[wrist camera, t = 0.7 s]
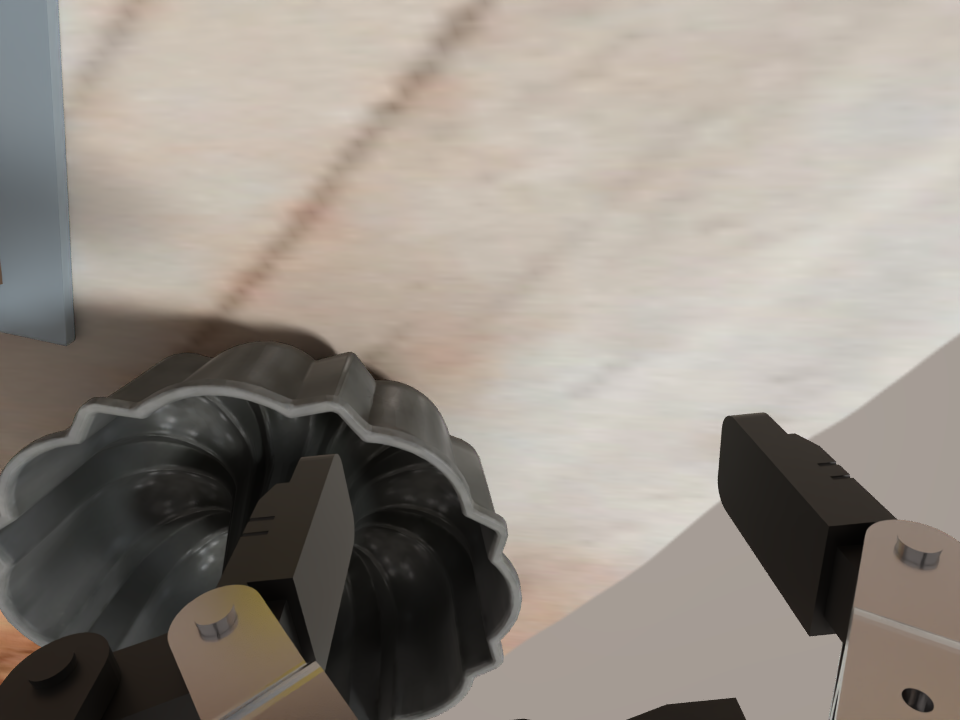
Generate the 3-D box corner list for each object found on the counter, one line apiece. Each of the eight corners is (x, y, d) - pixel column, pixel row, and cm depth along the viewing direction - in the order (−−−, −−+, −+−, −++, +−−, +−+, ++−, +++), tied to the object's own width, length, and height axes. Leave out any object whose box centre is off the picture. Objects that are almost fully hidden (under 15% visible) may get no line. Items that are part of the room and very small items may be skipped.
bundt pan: (503, 615, 46) (511, 754, 37) (153, 617, 45) (77, 759, 36) (519, 293, 33) (537, 387, 24) (34, 290, 32) (-127, 385, 24)
